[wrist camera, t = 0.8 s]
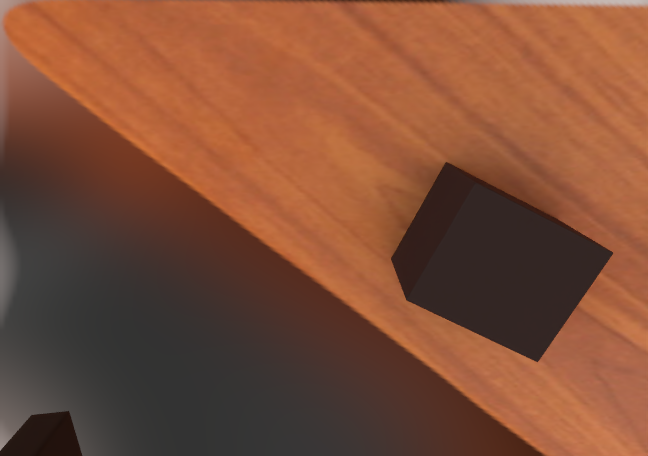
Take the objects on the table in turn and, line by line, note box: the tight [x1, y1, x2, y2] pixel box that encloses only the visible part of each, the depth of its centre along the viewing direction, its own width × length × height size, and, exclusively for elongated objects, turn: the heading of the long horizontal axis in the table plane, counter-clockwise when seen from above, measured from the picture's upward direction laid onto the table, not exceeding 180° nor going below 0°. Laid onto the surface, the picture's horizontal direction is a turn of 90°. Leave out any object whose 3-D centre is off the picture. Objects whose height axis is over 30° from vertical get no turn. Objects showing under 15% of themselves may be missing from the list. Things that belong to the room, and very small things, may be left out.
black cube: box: [391, 162, 613, 362], centre depth 25 cm, size 6×7×6 cm
